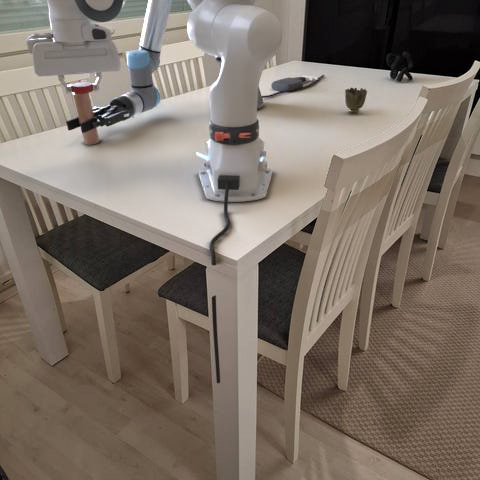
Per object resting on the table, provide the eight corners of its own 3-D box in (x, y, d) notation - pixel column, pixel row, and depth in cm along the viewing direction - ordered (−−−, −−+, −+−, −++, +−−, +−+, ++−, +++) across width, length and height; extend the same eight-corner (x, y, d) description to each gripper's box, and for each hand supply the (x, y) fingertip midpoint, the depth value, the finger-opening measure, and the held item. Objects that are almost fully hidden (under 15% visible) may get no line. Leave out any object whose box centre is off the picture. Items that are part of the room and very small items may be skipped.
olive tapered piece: (340, 114, 157) (342, 91, 153) (346, 109, 163) (348, 86, 159) (361, 116, 154) (364, 93, 150) (366, 111, 160) (369, 88, 156)
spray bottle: (268, 89, 190) (300, 79, 206) (290, 92, 184) (320, 82, 200) (269, 81, 189) (300, 72, 205) (290, 85, 183) (321, 75, 199)
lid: (92, 87, 115) (91, 81, 114) (94, 92, 111) (93, 85, 110) (71, 89, 113) (70, 82, 112) (72, 94, 109) (71, 87, 108)
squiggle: (400, 92, 202) (376, 71, 205) (417, 76, 202) (392, 56, 205) (405, 81, 191) (380, 59, 194) (423, 64, 191) (397, 42, 194)
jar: (88, 145, 135) (75, 90, 126) (81, 142, 138) (68, 87, 129) (102, 141, 138) (90, 87, 128) (95, 138, 140) (83, 84, 131)
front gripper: (23, 35, 100) (38, 98, 107) (117, 31, 105) (125, 91, 113) (25, 32, 105) (39, 92, 112) (114, 28, 110) (122, 86, 118)
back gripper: (149, 121, 146) (100, 143, 129) (107, 114, 153) (55, 135, 136) (146, 98, 142) (95, 117, 125) (103, 92, 149) (49, 110, 132)
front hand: (83, 92), depth 112 cm, fingers closed on lid, 5 cm apart
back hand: (75, 127), depth 130 cm, fingers closed on jar, 5 cm apart
